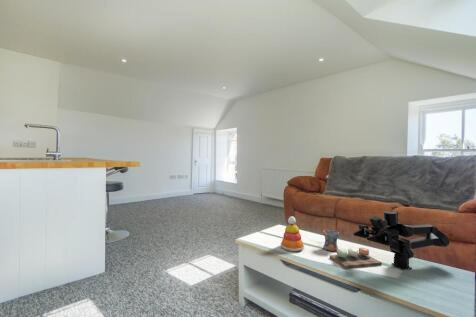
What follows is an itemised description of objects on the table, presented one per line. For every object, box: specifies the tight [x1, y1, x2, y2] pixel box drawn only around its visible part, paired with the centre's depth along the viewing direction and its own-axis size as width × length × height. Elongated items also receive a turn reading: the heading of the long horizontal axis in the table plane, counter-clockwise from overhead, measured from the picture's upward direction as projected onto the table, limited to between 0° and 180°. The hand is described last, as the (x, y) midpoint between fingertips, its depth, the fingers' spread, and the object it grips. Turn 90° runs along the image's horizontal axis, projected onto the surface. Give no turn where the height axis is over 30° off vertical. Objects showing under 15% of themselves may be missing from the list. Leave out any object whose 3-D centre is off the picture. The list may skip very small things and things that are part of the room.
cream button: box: [347, 247, 359, 256], centre depth 128 cm, size 5×5×2 cm
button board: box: [329, 252, 383, 270], centre depth 127 cm, size 22×13×2 cm, turn 104°
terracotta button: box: [358, 247, 370, 256], centre depth 130 cm, size 5×5×2 cm
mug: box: [322, 229, 340, 252], centre depth 145 cm, size 12×9×11 cm
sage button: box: [336, 248, 348, 257], centre depth 126 cm, size 5×5×2 cm
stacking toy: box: [280, 215, 305, 252], centre depth 144 cm, size 14×14×20 cm
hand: (360, 236), depth 116 cm, fingers open, 9 cm apart
